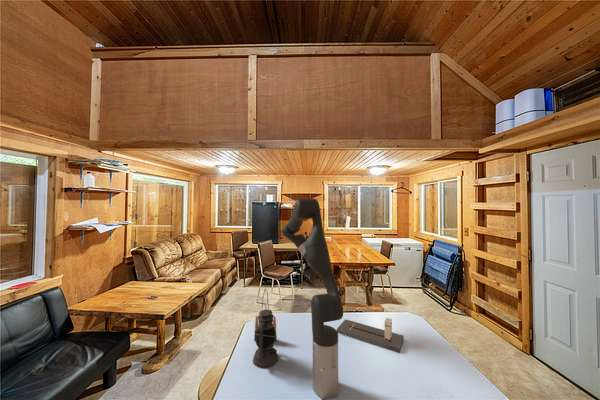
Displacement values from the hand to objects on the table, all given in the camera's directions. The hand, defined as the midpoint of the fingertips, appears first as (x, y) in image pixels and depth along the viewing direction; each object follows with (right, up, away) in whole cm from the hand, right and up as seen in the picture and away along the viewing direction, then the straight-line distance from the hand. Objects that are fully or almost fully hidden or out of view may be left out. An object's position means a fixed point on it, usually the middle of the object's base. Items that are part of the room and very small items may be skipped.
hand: (327, 275), depth 121 cm
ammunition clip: (-31, -29, -8) cm, 43 cm away
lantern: (-29, -29, -22) cm, 46 cm away
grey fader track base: (+21, -29, -5) cm, 36 cm away
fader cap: (+28, -26, -10) cm, 40 cm away
